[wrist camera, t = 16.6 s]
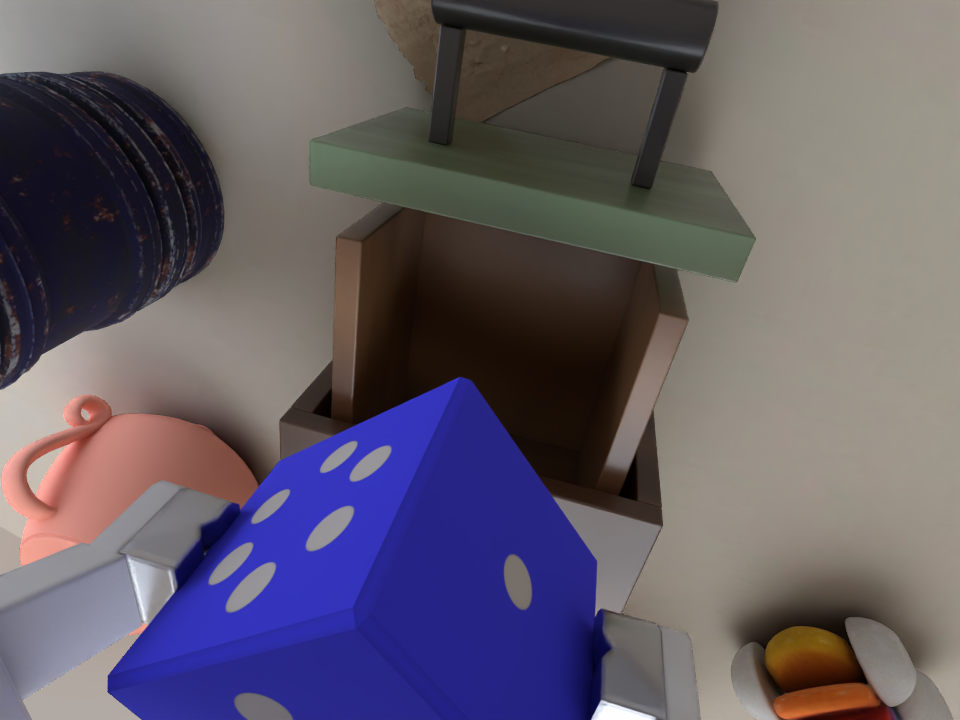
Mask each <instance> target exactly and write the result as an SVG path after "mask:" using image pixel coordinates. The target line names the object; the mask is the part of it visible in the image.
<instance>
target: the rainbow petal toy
mask: <svg viewBox="0 0 960 720" xmlns="http://www.w3.org/2000/svg"><path fill="white" fill-rule="evenodd" d="M845 626H846V631H847V634H848V637H849V640H850V643H851V645H852V647H853V648H852V647H851V646H850V645H849V644H848V642H847V641H845V640H844V639H843V638H841V637H840V636H837V635H835V634H834V633H831V632H829V631H826V630H823V629H820V628H815V627H808V626H796V627H791V628H788V629H785V630H783V631H781V632H779V633H778V634H777V635H775V636H774V637H773V638H772V639H771V640H770V641H769V643H768V645H767V648H766V651H765V650H764V648H763V647H762V646H761V645H759V644H758V643H756V642H750V643H748V644H746V645H745V646H743V647H742V648H741V649H740V650H739V651H738V652H737V653H736V655H735V657H734V659H733V661H732V666H731V679H732V683H733V687H734V690H735V692H736V694H737V697H738V699H739V701H740V702H741V704H742V705H743V706H744V708H745V709H746V710H747V711H748V712H749V713H751V714H752V715H753V716H755V717H756V718H757V719H759V720H953V718H952V714H951V712H950V710H949V708H948V706H947V704H946V702H945V700H944V698H943V696H942V695H941V693H940V691H939V690H938V688H937V687H936V685H935V684H934V682H933V681H932V680H931V679H930V678H929V677H927V676H926V675H925V674H923V673H922V672H920V671H918V670H916V669H915V668H914V665H913V663H912V661H911V659H910V657H909V655H908V653H907V651H906V649H905V647H904V646H903V644H902V642H901V641H900V639H899V638H898V636H897V635H896V634H895V633H894V632H893V631H892V630H891V629H889V628H888V627H886V626H885V625H883V624H881V623H879V622H876V621H874V620H871V619H867V618H862V617H848V618H846V620H845Z"/></svg>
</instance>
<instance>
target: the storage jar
mask: <svg viewBox="0 0 960 720" xmlns="http://www.w3.org/2000/svg"><path fill="white" fill-rule="evenodd" d="M223 226H224V209H223V200H222V195H221V191H220V187H219V183H218V179H217V177H216V174H215V171H214V169H213V166H212V164H211V161H210V160H209V158H208V156H207V154H206V152H205V150H204V148H203V146H202V145H201V143H200V142H199V140H198V139H197V137H196V136H195V134H194V133H193V131H192V130H191V129H190V127H189V126H188V125H187V124H186V123H185V122H184V120H183V119H182V118H181V117H180V116H179V115H178V113H176V112H175V111H174V110H173V109H172V108H171V107H170V106H169V105H168V104H167V103H166V102H165V101H164V100H162V99H161V98H159V97H158V96H157V95H155V94H154V93H153V92H151V91H150V90H148V89H147V88H145V87H143V86H141V85H139V84H137V83H136V82H134V81H132V80H129V79H127V78H124V77H121V76H118V75H115V74H110V73H104V72H76V73H71V74H54V73H48V72H24V73H6V74H1V75H0V390H1V389H4V388H6V387H7V386H9V385H11V384H12V383H14V382H16V380H17V379H18V378H19V377H20V376H21V375H22V374H24V373H25V372H27V371H29V370H30V369H31V368H32V367H33V366H34V364H35V363H36V362H37V361H38V360H39V358H40V356H41V355H42V354H44V353H46V352H47V351H49V350H51V349H53V348H55V347H56V346H58V345H60V344H62V343H64V342H66V341H67V340H69V339H71V338H73V337H75V336H76V335H78V334H80V333H82V332H84V331H90V330H98V329H101V328H104V327H108V326H110V325H113V324H116V323H119V322H122V321H124V320H126V319H127V318H129V317H131V316H132V315H133V314H134V313H135V312H136V311H139V310H141V309H143V308H145V307H146V306H148V305H150V304H151V303H153V302H155V301H157V300H158V299H160V298H162V297H164V296H165V295H166V294H167V293H168V292H170V291H171V290H172V289H173V288H174V287H176V286H177V285H179V284H180V283H183V282H185V281H187V280H188V279H190V278H192V277H194V276H195V275H197V274H199V273H200V272H201V271H202V270H203V269H205V268H206V267H207V266H208V265H209V263H210V262H211V260H212V259H213V258H214V256H215V255H216V252H217V250H218V247H219V245H220V243H221V238H222V233H223Z"/></svg>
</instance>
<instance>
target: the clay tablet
mask: <svg viewBox="0 0 960 720" xmlns="http://www.w3.org/2000/svg"><path fill="white" fill-rule="evenodd" d="M375 5H376V11H377V14H378V17H379V19H380V20H381V21H382V22H383V23H384V24H385V25H386V27H387V30H388V33H389V35H390V36H391V38H392V39H393V41H394V42H395V43H396V44H397V45H398V48H399V50H400V51H401V52H402V53H403V56H404V57H405V58H406V59H407V60H408V61H409V62H410V63H411V64H412V66H414V69H413V70H414V74H415V78H416V79H418V80H419V81H420V82H425V91H427V92H428V93H430V94H433V90H434V81H435V72H436V62H437V53H438V43H439V34H440V27H441V24H437V23H436V22H435V21H434V19H433V15H432V8H431V0H375ZM608 58H611V57H607V56H602V55H596V54H591V53H586V52H581V51H576V50H571V49H565V48H560V47H555V46H550V45H545V44H540V43H534V42H529V41H524V40H519V39H514V38H509V37H503V36H498V35H493V34H488V33H483V32H477V31H472V30H467V29H466V36H465V44H464V52H463V60H462V67H461V75H460V83H459V91H458V99H457V106H456V114H455V117H456V118H460V119H466V120H470V121H475V122H483V121H485V120H486V119H488V118H490V117H492V116H494V115H495V114H497V113H499V112H500V111H502V110H505V109H507V108H509V107H511V106H513V105H515V104H517V103H519V102H521V101H523V100H525V99H527V98H530V97H532V96H534V95H536V94H538V93H539V92H541V91H543V90H545V89H546V88H548V87H550V86H553V85H555V84H558V83H560V82H563V81H565V80H568V79H570V78H572V77H575V76H576V75H578V74H580V73H582V72H584V71H588V70H590V69H591V68H593V67H594V66H595V65H596V64H598V63H599V62H600V61H602V60H605V59H608Z"/></svg>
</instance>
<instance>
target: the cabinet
mask: <svg viewBox="0 0 960 720" xmlns="http://www.w3.org/2000/svg"><path fill="white" fill-rule="evenodd" d="M332 368H333V360H332V361H331V362H330V363H329V364H328V366H327V367H326V368H325V369H324V370H323V371H322V372H321V373H320V375H319V376H318V377H317V378H316V379H315V380H314V381H313V383H312V384H311V385H310V386H309V387H308V388H307V389H306V390H305V392H304V393H303V394H302V395H301V396H300V397H299V398H298V399H297V401H296V402H295V403H294V404H293V405H292V406H291V408H290V409H289V410H288V411H287V412H286V413H285V415H284V416H283V417H282V418H281V419H280V421H279V424H280V455H281V460H282V459H285V458H287V457H289V456H291V455H293V454H295V453H297V452H300V451H302V450H304V449H306V448H308V447H310V446H313V445H315V444H317V443H319V442H321V441H323V440H325V439H328V438H330V437H332V436H334V435H336V434H338V433H341V432H343V431H345V430H347V429H349V428H351V427H353V426H356V425H354V424H350V423H346V422H342V421H339V420H335V419H331V404H332ZM537 475H538V474H537ZM538 477H539V478H540V480H541V481H542V483H543V484H544V485H545V487H546V488H547V490H548V491H549V493H550V494H551V495H552V497H553V498H554V500H555V501H556V503H557V504H558V505H559V507H560V508H561V510H562V511H563V513H564V514H565V516H566V517H567V518H568V520H569V521H570V523H571V524H572V526H573V527H574V528H575V530H576V531H577V533H578V534H579V536H580V537H581V539H582V540H583V541H584V543H585V544H586V546H587V547H588V549H589V550H590V551H591V553H592V554H593V556H594V557H595V559H596V560H597V583H596V607H595V617H596V614H597V612H598V611H599V610H600V609H601V608H602V609H606V610H609V611H613V612H616V613H620V614H621V613H622V611H623V609H624V607H625V605H626V602H627V600H628V598H629V596H630V594H631V592H632V590H633V588H634V586H635V583H636V581H637V579H638V577H639V575H640V573H641V571H642V569H643V567H644V564H645V562H646V560H647V558H648V556H649V554H650V552H651V550H652V548H653V546H654V543H655V541H656V539H657V537H658V535H659V533H660V531H661V529H662V527H663V519H662V509H661V508H662V503H661V492H660V480H659V469H658V457H657V446H656V435H655V423H654V412H653V411H652V414H651V416H650V419H649V421H648V424H647V426H646V429H645V431H644V434H643V436H642V439H641V441H640V444H639V446H638V449H637V451H636V454H635V456H634V459H633V461H632V464H631V466H630V469H629V471H628V474H627V476H626V479H625V481H624V484H623V486H622V489H621V491H620V494H619V496H616V495H612V494H608V493H605V492H601V491H597V490H594V489H590V488H586V487H582V486H579V485H575V484H571V483H568V482H564V481H560V480H557V479H553V478H549V477H546V476H542V475H538Z"/></svg>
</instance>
